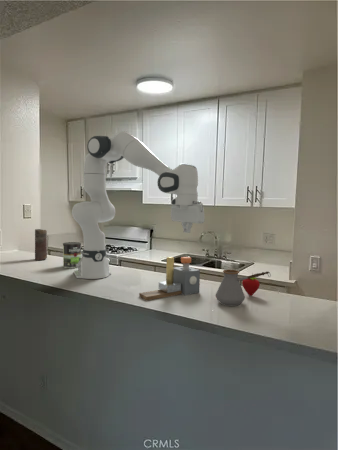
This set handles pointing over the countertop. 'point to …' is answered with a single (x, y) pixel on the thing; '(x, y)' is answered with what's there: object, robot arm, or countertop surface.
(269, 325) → the countertop surface
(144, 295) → the rail
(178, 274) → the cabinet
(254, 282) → the strawberry
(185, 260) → the button
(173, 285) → the carriage
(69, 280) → the countertop surface
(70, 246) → the coffee can
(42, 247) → the candle
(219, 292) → the coffee pot
